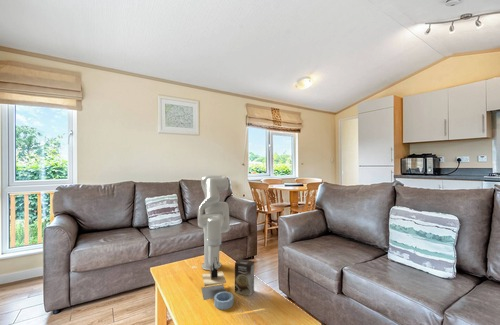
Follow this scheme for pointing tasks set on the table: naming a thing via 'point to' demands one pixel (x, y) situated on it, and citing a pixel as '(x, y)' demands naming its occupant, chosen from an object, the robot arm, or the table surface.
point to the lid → (213, 281)
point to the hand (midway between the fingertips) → (213, 274)
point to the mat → (212, 291)
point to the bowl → (223, 300)
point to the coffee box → (244, 277)
